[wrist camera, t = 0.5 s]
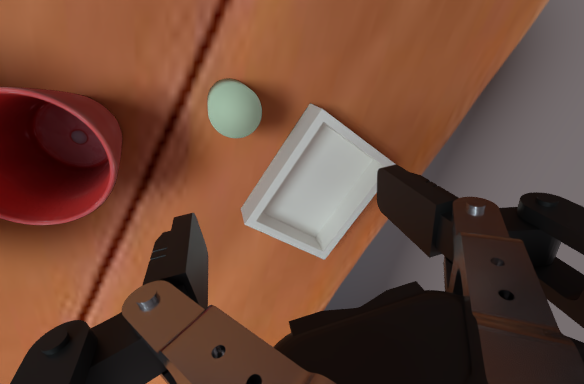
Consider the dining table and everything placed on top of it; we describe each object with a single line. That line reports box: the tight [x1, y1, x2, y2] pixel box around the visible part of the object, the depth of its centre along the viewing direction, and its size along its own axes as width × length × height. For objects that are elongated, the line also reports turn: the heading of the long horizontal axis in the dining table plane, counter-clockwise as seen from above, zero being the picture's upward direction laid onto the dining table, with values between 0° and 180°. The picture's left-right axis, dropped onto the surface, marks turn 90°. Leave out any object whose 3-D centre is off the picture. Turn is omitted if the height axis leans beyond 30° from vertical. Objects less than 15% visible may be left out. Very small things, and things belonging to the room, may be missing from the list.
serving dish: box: [241, 104, 396, 260], centre depth 37 cm, size 16×13×4 cm
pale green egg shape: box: [208, 78, 262, 138], centre depth 29 cm, size 5×5×7 cm
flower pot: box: [0, 87, 122, 225], centre depth 25 cm, size 11×11×10 cm
